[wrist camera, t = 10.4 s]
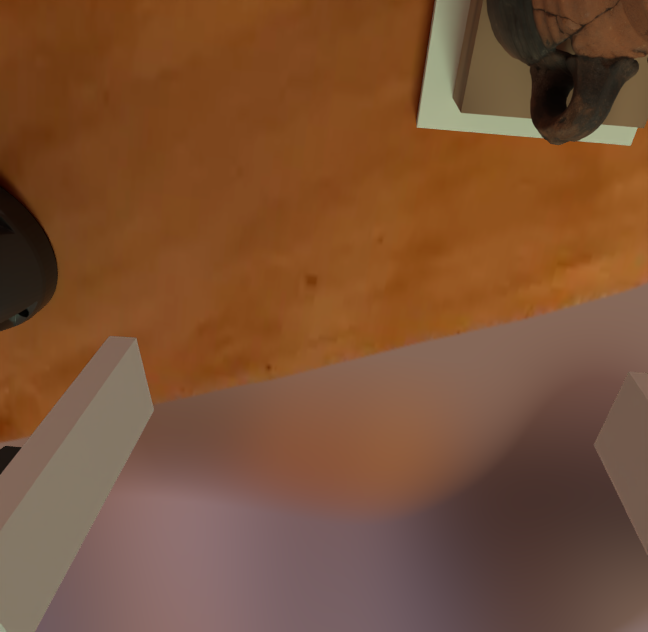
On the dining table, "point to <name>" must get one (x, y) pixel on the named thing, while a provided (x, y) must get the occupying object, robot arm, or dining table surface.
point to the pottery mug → (572, 57)
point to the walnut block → (524, 78)
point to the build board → (441, 78)
